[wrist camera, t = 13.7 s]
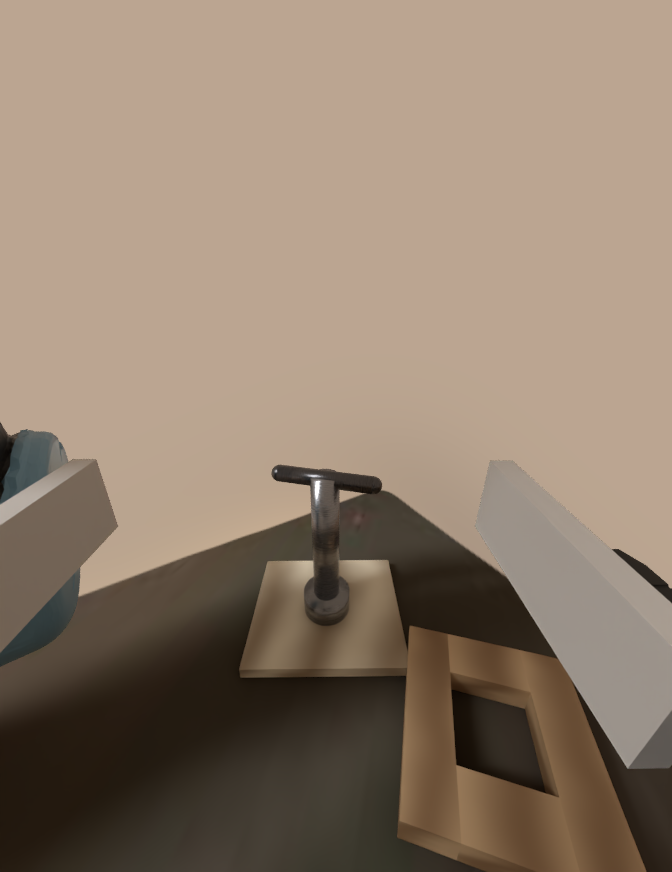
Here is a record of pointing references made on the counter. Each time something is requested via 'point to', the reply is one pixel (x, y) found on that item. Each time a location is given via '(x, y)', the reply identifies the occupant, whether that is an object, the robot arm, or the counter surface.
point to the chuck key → (326, 537)
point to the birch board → (325, 645)
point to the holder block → (495, 798)
